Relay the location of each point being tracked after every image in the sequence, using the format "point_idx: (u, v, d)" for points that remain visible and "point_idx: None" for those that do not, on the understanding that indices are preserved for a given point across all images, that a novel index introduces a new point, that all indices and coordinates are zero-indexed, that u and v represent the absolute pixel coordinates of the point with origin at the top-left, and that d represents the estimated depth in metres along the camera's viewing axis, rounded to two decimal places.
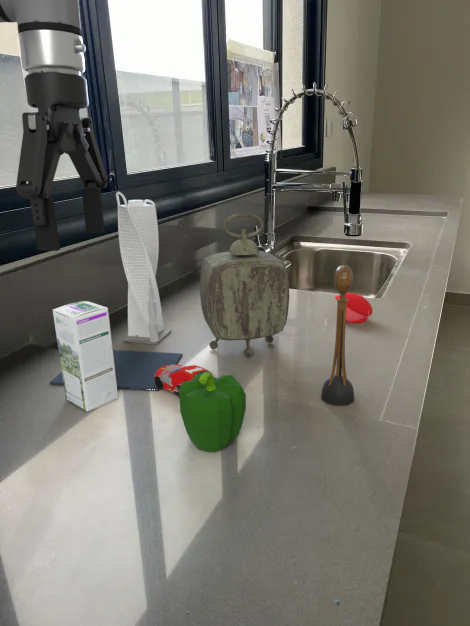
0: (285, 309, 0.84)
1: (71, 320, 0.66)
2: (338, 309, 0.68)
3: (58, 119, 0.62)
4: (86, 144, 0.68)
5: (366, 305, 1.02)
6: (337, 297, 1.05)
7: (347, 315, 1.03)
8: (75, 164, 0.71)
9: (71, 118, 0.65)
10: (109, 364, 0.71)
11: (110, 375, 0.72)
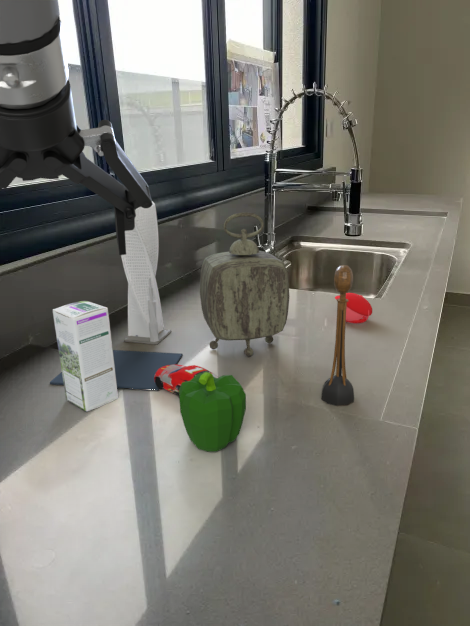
0: (285, 309, 0.84)
1: (71, 320, 0.66)
2: (338, 309, 0.68)
3: (0, 148, 0.41)
4: (77, 176, 0.45)
5: (366, 305, 1.02)
6: (337, 297, 1.05)
7: (347, 315, 1.03)
8: None
9: None
10: (109, 363, 0.71)
11: (110, 375, 0.72)
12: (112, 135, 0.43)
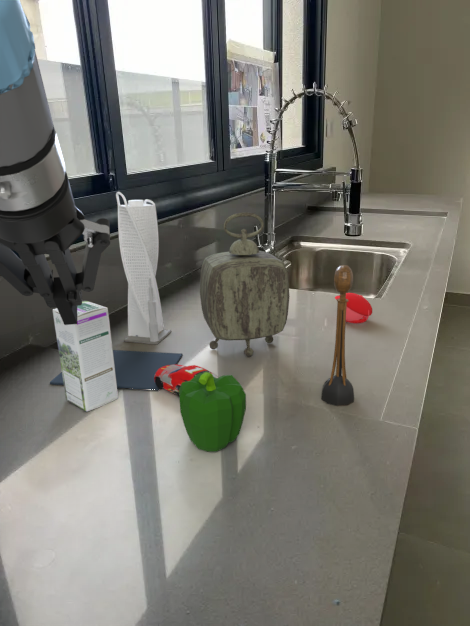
0: (285, 309, 0.84)
1: None
2: (338, 309, 0.68)
3: None
4: (60, 260, 0.47)
5: (366, 305, 1.02)
6: (337, 297, 1.05)
7: (347, 315, 1.03)
8: None
9: None
10: (109, 363, 0.71)
11: (110, 375, 0.72)
12: (109, 237, 0.47)
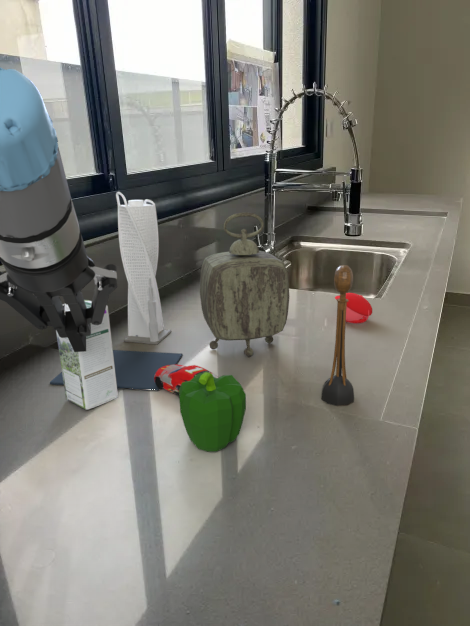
0: (285, 309, 0.84)
1: None
2: (338, 309, 0.68)
3: None
4: (72, 301, 0.53)
5: (366, 305, 1.02)
6: (337, 297, 1.05)
7: (347, 315, 1.03)
8: None
9: None
10: (109, 362, 0.72)
11: (110, 373, 0.72)
12: None
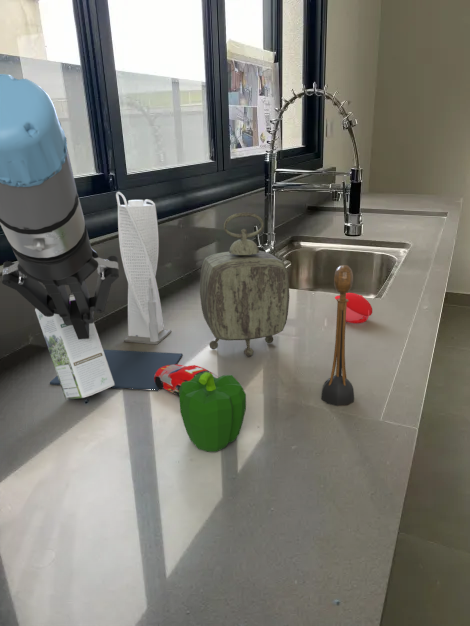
0: (285, 309, 0.84)
1: None
2: (338, 309, 0.68)
3: None
4: (77, 289, 0.57)
5: (366, 305, 1.02)
6: (337, 297, 1.05)
7: (347, 315, 1.03)
8: None
9: None
10: (97, 349, 0.73)
11: (101, 360, 0.73)
12: (118, 271, 0.57)
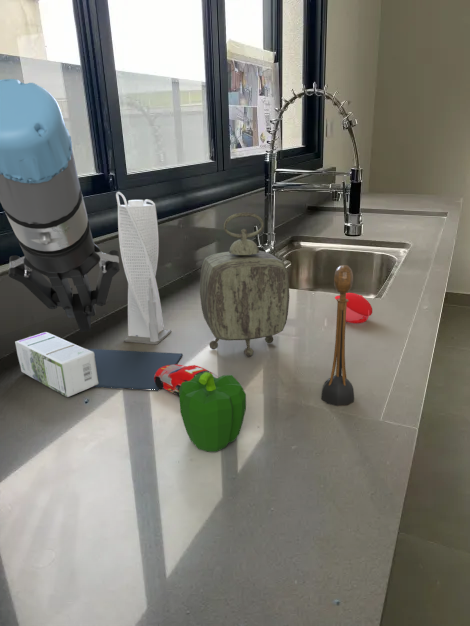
0: (285, 309, 0.84)
1: (16, 345, 0.80)
2: (338, 309, 0.68)
3: None
4: (80, 282, 0.60)
5: (366, 305, 1.02)
6: (337, 297, 1.05)
7: (347, 315, 1.03)
8: None
9: None
10: (68, 344, 0.79)
11: (74, 347, 0.77)
12: (119, 265, 0.60)
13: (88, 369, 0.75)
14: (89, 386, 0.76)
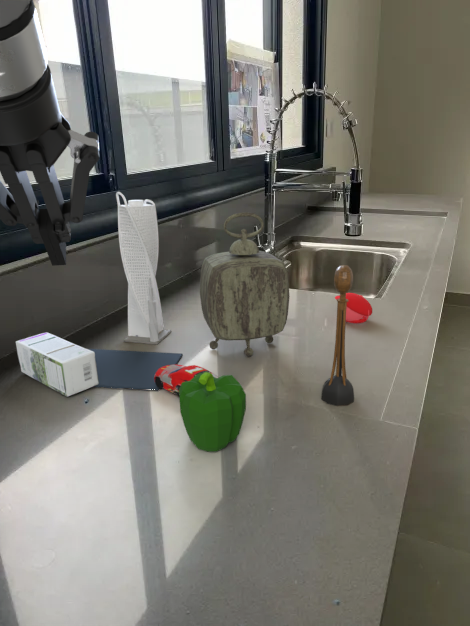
0: (285, 309, 0.84)
1: (16, 344, 0.81)
2: (338, 309, 0.68)
3: None
4: (44, 177, 0.43)
5: (366, 305, 1.02)
6: (337, 297, 1.05)
7: (347, 315, 1.03)
8: None
9: None
10: (68, 344, 0.79)
11: (74, 347, 0.78)
12: (98, 152, 0.43)
13: (88, 369, 0.75)
14: (89, 386, 0.76)
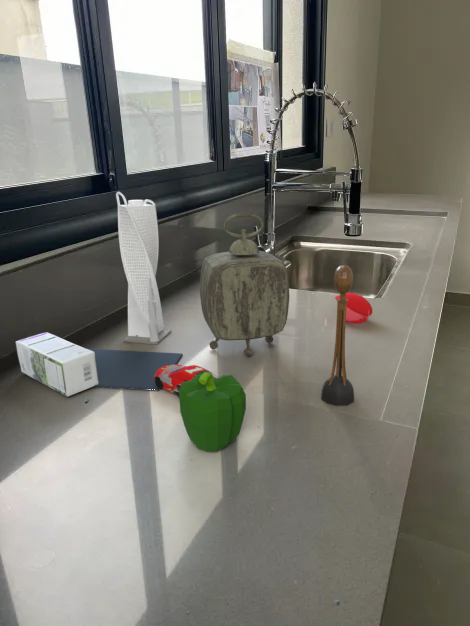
0: (285, 309, 0.84)
1: (16, 344, 0.81)
2: (338, 309, 0.68)
3: None
4: None
5: (366, 305, 1.02)
6: (337, 297, 1.05)
7: (347, 315, 1.03)
8: None
9: None
10: (68, 344, 0.79)
11: (74, 347, 0.78)
12: None
13: (88, 369, 0.75)
14: (89, 386, 0.76)
